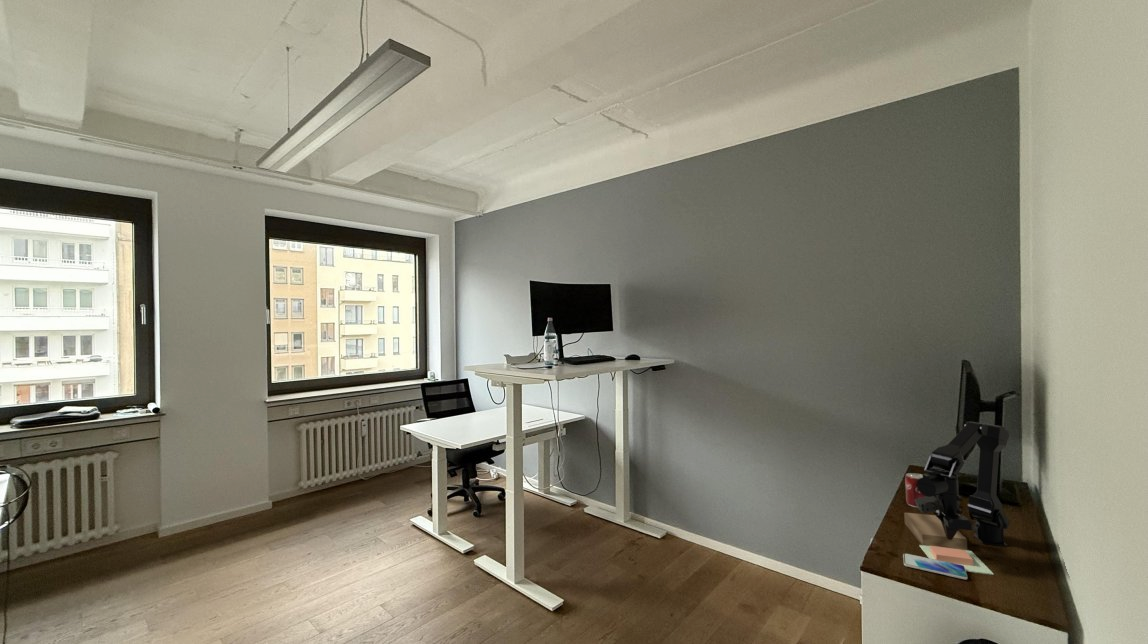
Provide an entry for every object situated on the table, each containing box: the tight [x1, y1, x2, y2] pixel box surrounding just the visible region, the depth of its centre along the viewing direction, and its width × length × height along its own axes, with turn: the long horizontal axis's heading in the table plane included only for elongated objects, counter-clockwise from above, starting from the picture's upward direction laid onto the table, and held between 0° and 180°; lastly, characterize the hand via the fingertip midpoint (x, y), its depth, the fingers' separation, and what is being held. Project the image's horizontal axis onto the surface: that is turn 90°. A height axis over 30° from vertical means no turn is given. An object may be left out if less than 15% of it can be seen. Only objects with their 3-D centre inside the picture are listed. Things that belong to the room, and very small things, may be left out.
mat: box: [919, 544, 995, 576], centre depth 141 cm, size 14×14×1 cm
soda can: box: [904, 472, 926, 509], centre depth 181 cm, size 7×7×12 cm
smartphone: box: [902, 552, 968, 581], centre depth 136 cm, size 7×1×15 cm
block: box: [930, 546, 973, 566], centre depth 141 cm, size 9×6×2 cm, turn 67°
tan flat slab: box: [903, 512, 968, 550], centre depth 156 cm, size 12×18×4 cm, turn 159°
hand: (949, 539), depth 144 cm, fingers closed
